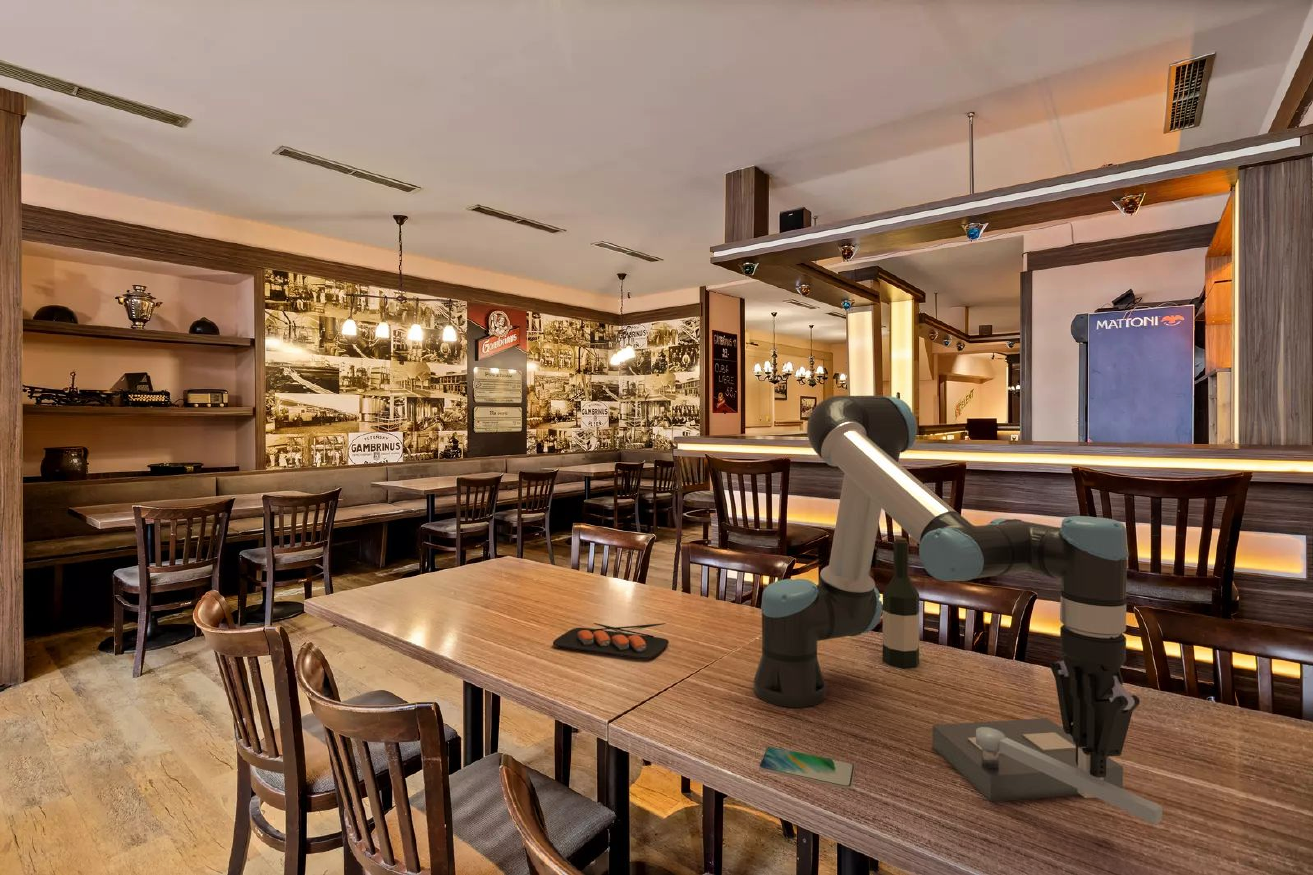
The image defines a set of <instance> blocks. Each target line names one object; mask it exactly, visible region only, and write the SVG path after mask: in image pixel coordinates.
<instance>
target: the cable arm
mask: <svg viewBox="0 0 1313 875" xmlns="http://www.w3.org/2000/svg"><path fill="white" fill-rule="evenodd" d="M976 744H977V745H978V746H980V747H981V748H983V749H986V750H989V751H999V752H1000V753H1002V754H1004V755H1007V756H1009V757H1011V758H1013V759H1015V760H1017V761H1019V762H1022V763H1024V764H1026V765H1028V766H1030V767H1032V768H1034V769H1037V770H1039V771H1041V772H1043V773H1045V774H1047V775H1049V776H1052V777H1054V778H1056V779H1058V780H1060V781H1062V782H1064V783H1067V784H1069V785H1071V786H1073V787H1075V788H1077V789H1079V790H1082V791H1084V792H1086V793H1088V794H1090V795H1092V796H1094V798H1097V799H1099V800H1101V801H1103V802H1106V803H1107V804H1110V805H1112V806H1114V807H1117V809H1120V810H1122V811H1124V812H1126V813H1129V814H1131V815H1133V816H1135V817H1137V818H1139V819H1142V820H1143V821H1146V822H1148V823H1150V824H1152V825H1154V826H1156V825H1158V824H1159V823H1161V822H1162V821H1163V806H1162V805H1160V804H1158V803H1156V802H1153V801H1151V800H1149V799H1147V798H1145V797H1142V796H1141V795H1140V796H1139V795H1138V794H1135V793H1133V792H1130V791H1128V790H1126V789H1124V788H1123V789H1122V788H1119V787H1117V786H1115V785H1113V784H1110V783H1108V782H1106V781H1104V780H1101V779H1099V778H1097V777H1095V776H1092V775H1090V774H1088V773H1085V772H1083V771H1081V770H1079V769H1076V768H1074V767H1072V766H1070V765H1067V764H1065V763H1063V762H1061V761H1058V760H1056V759H1054V758H1052V757H1049V756H1047V755H1045V754H1042V753H1040V752H1038V751H1036V750H1033V749H1031V748H1029V747H1027V746H1024V745H1022V744H1020V743H1018V742H1015V741H1013V740H1011V739H1009V738H1005V735H1004V734H1003V733H1002V732H1000V731H998V730H996V729H993V728H988V727H980V728H977V729H976Z"/></svg>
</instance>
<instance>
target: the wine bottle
mask: <svg viewBox="0 0 1313 875" xmlns="http://www.w3.org/2000/svg"><path fill="white" fill-rule="evenodd" d="M909 544H910V542H909V541H907V538H905V537H896V538H895V540H894V541H893V577H892V578H891V580H890V581H889V582H888V584H887V586H886V587H885V588H884V590H883V592H882V662H883V663H885V664H887V665H888V666H889V667H893V668H899V669H903V670H905V669H916V668H918V666H919V664H920V593H919V591H918V590H917V589H916V587H915V585H914V583H913V582H912V580H911V579H910V577H909V555H910V554H909Z"/></svg>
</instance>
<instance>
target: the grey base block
mask: <svg viewBox="0 0 1313 875" xmlns="http://www.w3.org/2000/svg"><path fill="white" fill-rule="evenodd" d="M980 727H988V728H993V729H996V730H998V731H1000V732H1002V733H1003V734H1004V735H1005V738H1009V739H1011V740H1013V741H1015V742H1018V743H1020V744H1022V745H1024V746H1027V747H1029V748H1031V749H1033V750H1036V751H1038V752H1040V753H1042V754H1045V755H1047V756H1049V757H1052V758H1054V759H1056V760H1058V761H1061V762H1063V763H1065V764H1067V765H1070V766H1072V767H1074V768H1076V769H1078V765H1077V764H1076V744H1075V743H1074V741H1073V737H1072V736H1071V735H1070V734H1066V733H1065V732H1064V730H1063V726H1062V727H1061V725H1059V724H1057V723H1056V722H1054V721H1053V720H1051V719H1050V718H1047V717H1046V718H1045V717H1043V718H1027V719H1024V718H1023V719H1009V720H996V721H978V722H975V721H974V722H962V723H960V722H959V723H946V724H945V723H944V724H943V723H942V724H932V748H933V749H934V750H935V752H937V753H938V754H939V755H940V756H941V757H942V758H944V760H945V761H946V762H947V763H948V764H950V766H952V767H953V768H954V769H955V770H956V772H958V773H959V774H960V775H962V777H964V779H966V780H967V781H968V782H969V783H970V784H971V785H972V786H973V788H975V789H976V790H977V791H978V792H979V793H980V794H982V796H984V797H985V798H986V800H988V801H989V802H990V803H993V802H1004V801H1005V802H1006V801H1007V802H1008V801H1019V800H1033V799H1046V798H1061V797H1074V796H1082V795H1081V794H1079V793H1078V789H1077V788H1075V787H1073V786H1071V785H1069V784H1067V783H1064V782H1062V781H1060V780H1058V779H1056V778H1054V777H1052V776H1049V775H1047V774H1045V773H1043V772H1041V771H1039V770H1037V769H1034V768H1032V767H1030V766H1028V765H1026V764H1024V763H1022V762H1019V761H1017V760H1015V759H1013V758H1011V757H1009V756H1007V755H1004V754H1002V753H1000V752H999V751H989V750H986V749H983V748H981V747H980V746H978V745H977V744H976V729H977V728H980ZM1123 773H1124V766H1122V764H1120V763H1118V762H1116V761H1115V760H1114V759H1112V758H1110V757H1107V758H1106V776H1105V777H1103V780H1104V781H1106V782H1108V783H1110V784H1113V785H1115V786H1117V787H1119V788H1122V789H1124V785H1123V784H1124V783H1123V782H1124V779H1123V778H1124V775H1123Z"/></svg>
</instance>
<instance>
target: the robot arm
mask: <svg viewBox="0 0 1313 875" xmlns="http://www.w3.org/2000/svg"><path fill="white" fill-rule="evenodd" d="M917 423H918V422H917V419H916V417H915V413H913V411H912V408H911V406H909V404H908V403H907V402H906V401H905V400H903V399H901V398H899V397H894V396H888V395H887V396H886V395H881V394H880V395H844V394H843V395H833V396H831V397H828V398H826V399H824V400H822V401H821V402H819V403H818V404H817V405H816V406H815V407H814V408H813V410H812V411H811V412H810V415H809V417H808V420H807V423H806V426H807V427H806V433H807V438H808V441H809V444H810V447H811V448H812V449H813V451H814V452H815V453H816V455H817V456H818V457H820V459H821V460H823V461H824V463H826V464H827V465H828V466H832V467H838V468H839V469H840V471H842V472H843V473H844V475H843V479H842V487H841V491H840V499H839V504H838V510H837V515H836V516H837V517H836V522H835V527H834V533H833V539H832V547H831V551H830V552H831V553H830V556H829V562H828V563H829V564H828V565H826V566H825V567H823V568H822V569H821V571H820V574H819V578H818V579H819V580H818V584H816V583H815V582H814V581H812V580H810V579H803V578H795V579H793V578H785V579H781V580H777V581H774V582H771V583H769V584H768V585H767V586H766V587H765V588H764V590H763V591H762V595H761V596H762V598H761V605H760V610H761V657H760V660H759V661H758V662H759V663H758V666H757V669H756V670H755V671H756V672H755V675H754V678H753V691H754V693H755V695H756V696H757V697H759V698H760V699H762V701H764V702H766V703H767V702H768V703H770V704H773V705H776V706H781V707H787V708H788V707H789V708H804V707H812V706H815V705H817V704H820V703H822V702H823V701H824V700H825V699H826V697H827V696H826V695H827V687H826V685H827V684H826V681H825V678H824V675H823V672H822V669H821V666H820V663H819V660H818V642H820V641H826V640H832V639H837V638H838V639H839V638H844V637H857V636H861V635H862V634H865V633H866V634H867V633H869V632H871V631H873V630H874V629H875V628H876V627H877V625H879V622H880V621H881V617H882V614H883V600H880V598H881V595H880V592H879V590H878V588H877V587H876V586H875V585H876V582H875V580H874V579H873V578H872V577H871V575H870V572H871V566H872V561H873V557H874V551H875V544H876V540H877V534H878V530H879V524H880V520H881V519H880V518H881V513H882V510H883V512H885V513H886V514H887V515H888V516H889V517H890V518H891V519H892V520H893V521H894V522H896V524H898V526H900V527H901V528H902V530H904V531H905V532H906V534H908V536H910V537H911V538H912V539H913V540H914V541H916V543H917V544H919V546H918V547H919V548H918V553H919V554H918V555H919V559H920V561H921V562H922V564H923V568H924V569H925V571H926V572H927V574H929V575H930V576H931V577H933V578H935V579H936V580H939V581H943V582H966V581H971V580H975V579H976V580H977V579H982V578H988V577H997V576H998V577H999V576H1004V575H1005V576H1006V575H1012V574H1014V575H1015V574H1023V573H1031V574H1036V575H1040V576H1043V577H1048V578H1051V579H1054V580H1055V579H1056V580H1060V601H1059V604H1060V606H1059V607H1060V608H1059V609H1060V610H1059V621H1060V622H1061V624H1062V625H1061V626H1060V628H1059V632H1060V634H1059V648H1060V649H1059V650H1060V651H1061V653H1062V654H1064V656H1063V660H1061V661H1051V662H1050V663H1049V664H1050V665H1049V666H1050V670H1051V673H1052V675H1053V677H1054V680H1055V686H1056V687H1055V688H1056V693H1057V699H1058V704H1059V705H1058V706H1059V711H1060V717H1061V724H1062V728H1063V730H1064V732H1065V733H1066V734H1070V735H1071V736H1072V737H1073V741H1074V743H1075V744H1076V764H1077V765H1078V769H1079V770H1081V771H1083V772H1085V773H1088V774H1090V775H1092V776H1095V777H1097V778H1099V779H1101V780H1103V777H1105V776H1106V758H1107V757H1109V758H1110V757H1120V756H1121V755H1122V751H1123V747H1124V745H1125V741H1126V737H1127V734H1128V730H1129V726H1130V721H1131V718H1132V715H1133V712H1134V710H1136V709H1137V708H1138V706H1139V705H1140V703H1141V700H1140V698H1139V697H1138V695H1134V694H1133V695H1132V694H1131V695H1130V694H1129V692H1128V691H1127V689H1126V688H1125V687H1124V686H1123V684H1124V679H1123V676H1122V674H1121V668H1122V665H1123V664H1124V663H1125V662H1126V660H1127V637H1126V636H1125V634H1124V633H1125V632H1126V630H1127V578H1128V576H1127V575H1128V574H1127V573H1128V570H1127V569H1128V558H1129V556H1130V554H1129V550H1128V537H1127V528H1126V526H1125V525H1124V524H1123V523H1122V522H1121V521H1118V520H1115V519H1112V518H1107V517H1100V516H1099V517H1098V516H1097V517H1094V516H1090V515H1089V516H1088V515H1087V516H1085V515H1075V516H1067V517H1065V518H1063V519H1062V522H1061V524H1060V525H1061V526H1059V527H1057V526H1053V525H1052V526H1051V525H1046V524H1040V523H1036V522H1030V521H1025V520H1022V519H1017V518H1012V519H1011V518H1003V517H1002V518H1001V517H1000V518H999V517H998V518H994V519H993V520H991V521H990V522H989V523H988V524H983V525H974V524H972V523H971V522H970V521H969V520H968V519H966V518H965V517H963V516H962V515H961V514H960V513H959V512H957V511H956V510H955V509H954V508H953V507H952V506H950V505H949V504H948V503H946V502H945V501H944V500H943V499H942V498H940V497H939V495H937V494H936V493H935V492H933V491H932V490H931V489H930V488H929V487H928V486H927V485H925V484H924V483H923V482H922V481H920V480H919V479H918V478H916V477H915V475H913V474H912V473H911V472H910V471H909V470H908V469H907V468H905V467H904V466H903V465H901V464H900V463H899V460H900V456H901V453H905V452H906V451H908V450H910V448H911V447H913V445H914V444H915V441H916V439H917V434H918V424H917ZM1078 793H1079V794H1081V795H1080V796H1082V797H1083V798H1084V799H1092V798H1095V797H1094V796H1092V795H1090V794H1088V793H1086V792H1084V791H1082V790H1079V789H1078Z"/></svg>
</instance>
